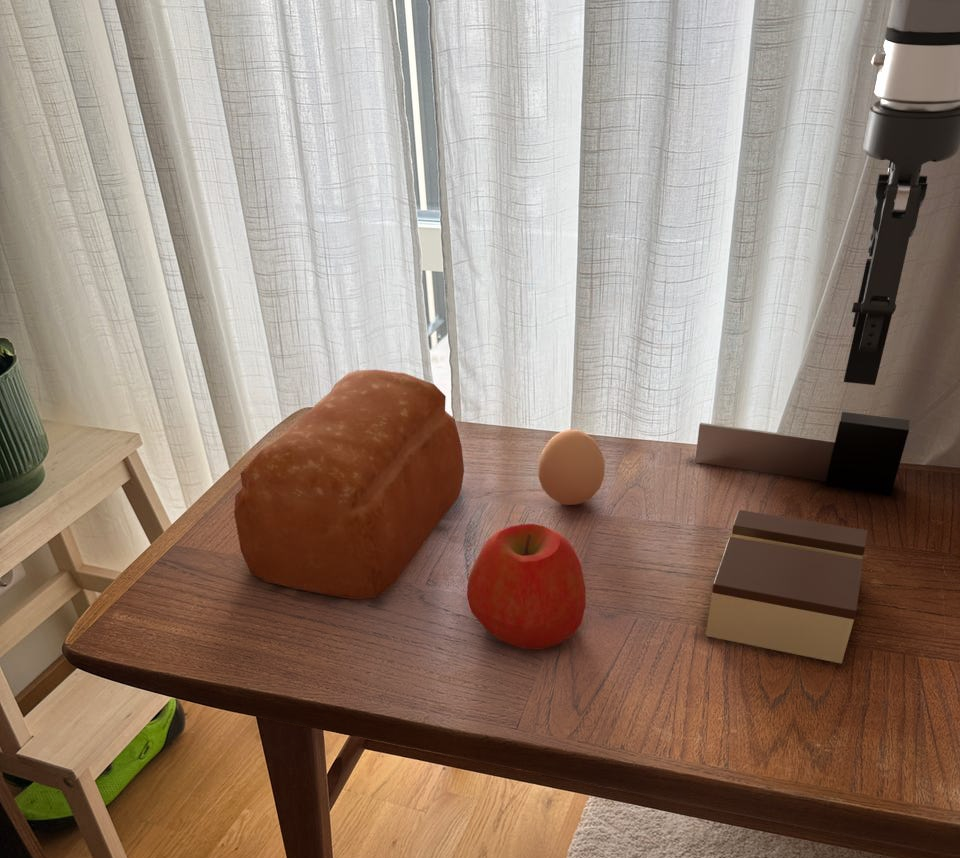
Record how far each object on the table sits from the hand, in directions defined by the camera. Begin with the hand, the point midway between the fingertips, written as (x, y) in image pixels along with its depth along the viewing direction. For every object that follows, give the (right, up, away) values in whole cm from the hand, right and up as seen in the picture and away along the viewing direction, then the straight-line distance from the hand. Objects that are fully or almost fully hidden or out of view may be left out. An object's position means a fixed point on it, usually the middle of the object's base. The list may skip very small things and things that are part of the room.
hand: (863, 353), depth 88 cm
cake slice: (-6, -22, +3) cm, 23 cm away
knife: (-1, -9, +18) cm, 20 cm away
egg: (-27, -12, +16) cm, 33 cm away
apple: (-32, -27, -1) cm, 42 cm away
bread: (-50, -16, +13) cm, 54 cm away
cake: (-9, -26, -3) cm, 28 cm away
